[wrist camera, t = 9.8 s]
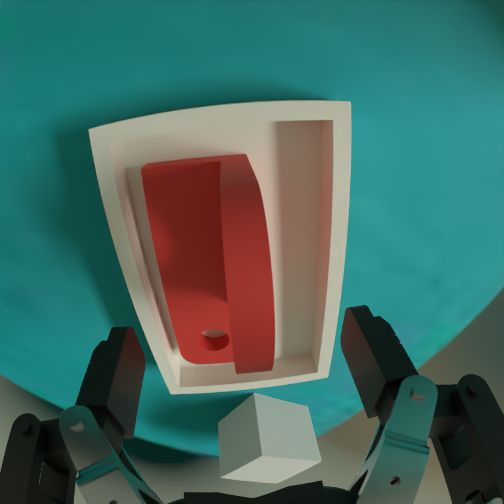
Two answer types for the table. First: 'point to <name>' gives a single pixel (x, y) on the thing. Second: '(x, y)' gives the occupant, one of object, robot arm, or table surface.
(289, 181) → the holder tray
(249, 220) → the bracket
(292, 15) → the table surface
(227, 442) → the white cube
